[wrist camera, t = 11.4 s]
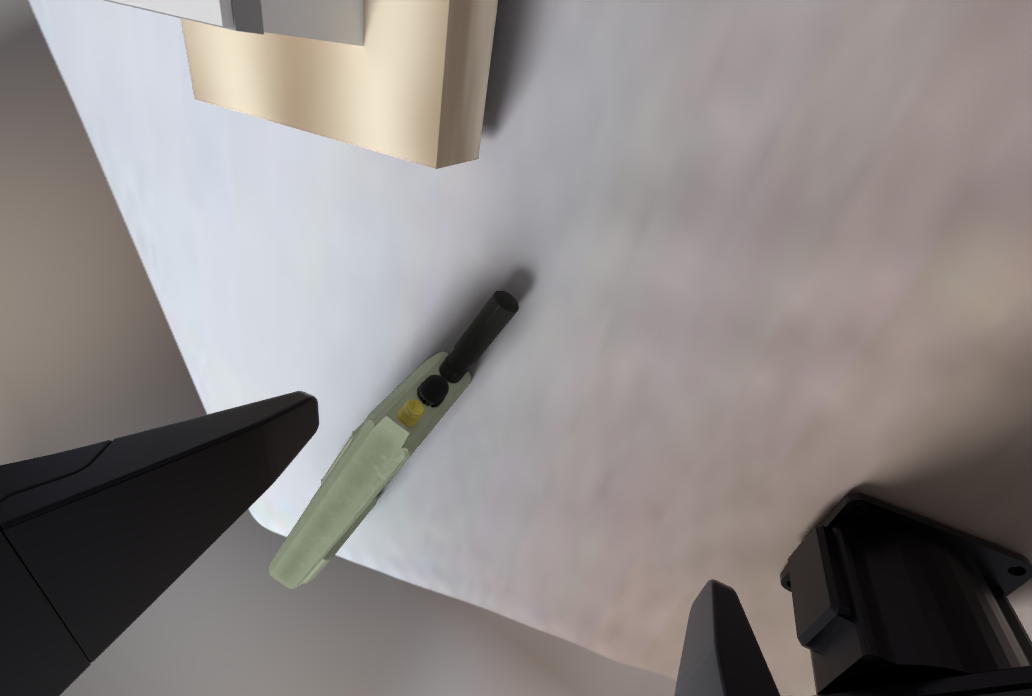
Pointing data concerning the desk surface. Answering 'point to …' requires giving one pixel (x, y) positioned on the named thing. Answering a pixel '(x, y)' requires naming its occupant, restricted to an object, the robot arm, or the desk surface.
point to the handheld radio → (384, 448)
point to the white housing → (270, 16)
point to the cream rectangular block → (362, 78)
